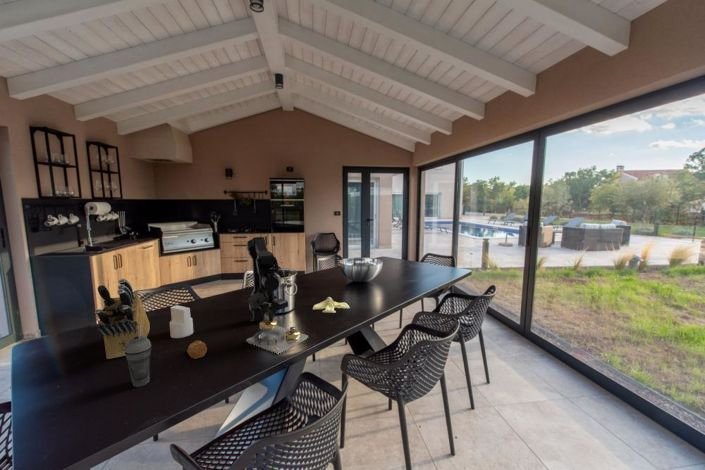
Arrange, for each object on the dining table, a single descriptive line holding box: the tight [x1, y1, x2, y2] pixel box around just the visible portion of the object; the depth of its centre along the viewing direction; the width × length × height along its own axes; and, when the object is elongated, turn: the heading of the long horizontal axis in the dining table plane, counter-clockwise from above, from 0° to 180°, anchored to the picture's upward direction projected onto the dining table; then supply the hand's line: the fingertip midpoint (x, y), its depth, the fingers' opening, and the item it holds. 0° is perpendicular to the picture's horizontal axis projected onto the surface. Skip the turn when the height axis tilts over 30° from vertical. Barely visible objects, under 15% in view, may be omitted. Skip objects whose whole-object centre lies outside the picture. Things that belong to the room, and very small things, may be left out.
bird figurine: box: [312, 296, 351, 314], centre depth 173 cm, size 22×19×6 cm
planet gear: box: [259, 312, 278, 331], centre depth 130 cm, size 7×7×6 cm
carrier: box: [246, 325, 309, 355], centre depth 131 cm, size 19×17×5 cm
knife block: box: [94, 278, 151, 360], centre depth 123 cm, size 11×35×31 cm, turn 26°
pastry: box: [186, 340, 208, 360], centre depth 120 cm, size 9×7×4 cm
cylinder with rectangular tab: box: [169, 304, 194, 339], centre depth 138 cm, size 9×9×12 cm
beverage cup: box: [125, 324, 153, 388], centre depth 100 cm, size 7×7×20 cm
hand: (268, 320), depth 131 cm, fingers closed on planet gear, 3 cm apart
